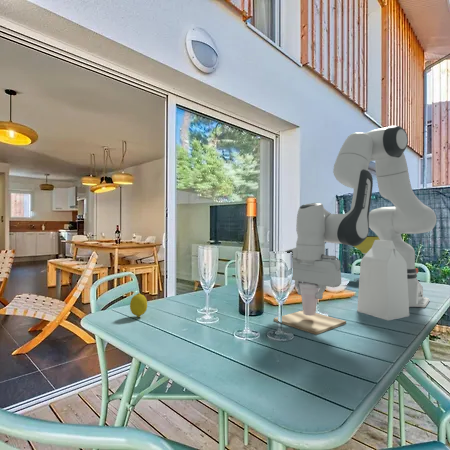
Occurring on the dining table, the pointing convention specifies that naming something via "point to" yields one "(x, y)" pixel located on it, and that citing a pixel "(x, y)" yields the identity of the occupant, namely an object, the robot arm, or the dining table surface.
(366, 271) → the milk
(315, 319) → the oak board
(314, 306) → the smoothie
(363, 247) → the cocktail glass
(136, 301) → the lemon
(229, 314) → the dining table surface
